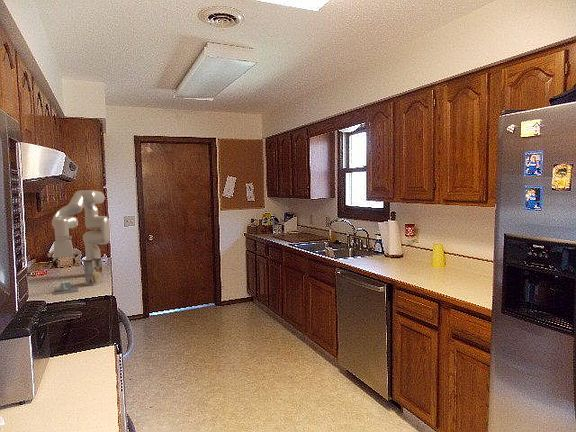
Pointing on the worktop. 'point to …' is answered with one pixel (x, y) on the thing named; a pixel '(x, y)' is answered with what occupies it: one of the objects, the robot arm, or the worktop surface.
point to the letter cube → (65, 286)
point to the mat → (58, 291)
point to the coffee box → (93, 271)
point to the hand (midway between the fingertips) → (64, 265)
